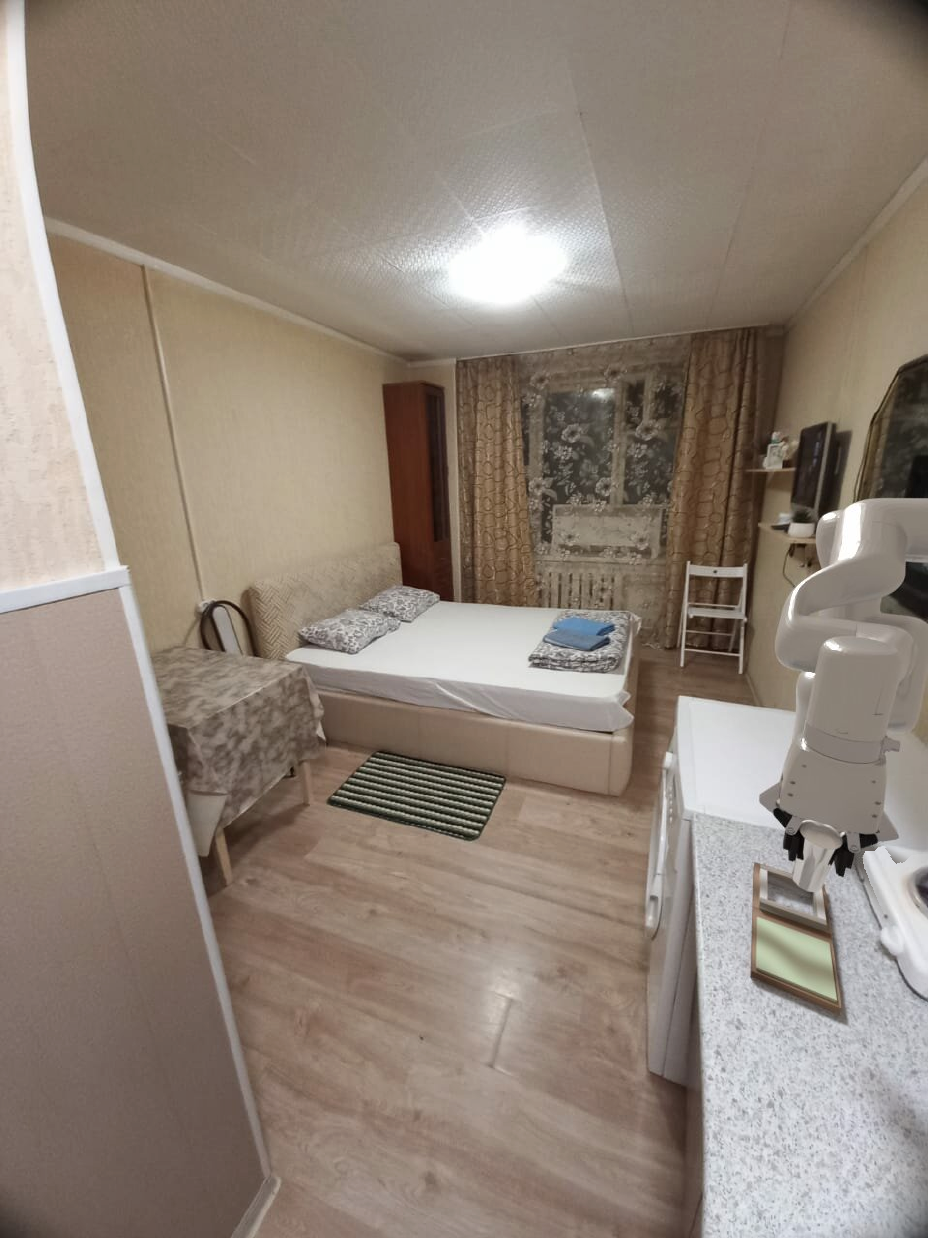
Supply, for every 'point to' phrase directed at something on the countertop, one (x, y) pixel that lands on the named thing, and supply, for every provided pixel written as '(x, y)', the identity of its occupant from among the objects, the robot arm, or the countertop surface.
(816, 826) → the milkshake
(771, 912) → the board
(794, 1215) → the countertop surface
